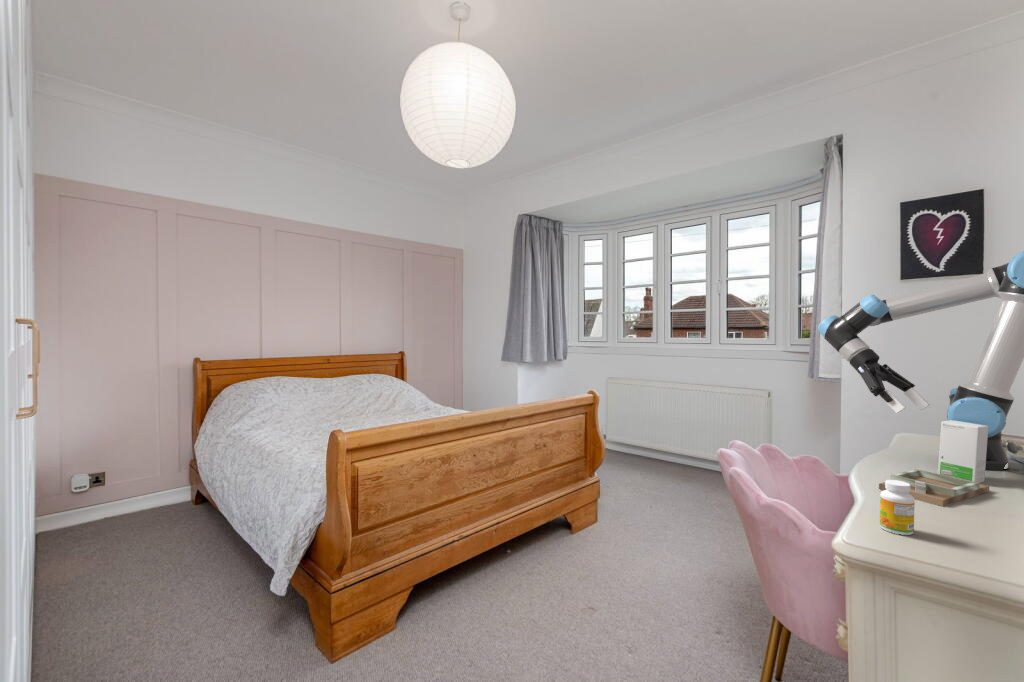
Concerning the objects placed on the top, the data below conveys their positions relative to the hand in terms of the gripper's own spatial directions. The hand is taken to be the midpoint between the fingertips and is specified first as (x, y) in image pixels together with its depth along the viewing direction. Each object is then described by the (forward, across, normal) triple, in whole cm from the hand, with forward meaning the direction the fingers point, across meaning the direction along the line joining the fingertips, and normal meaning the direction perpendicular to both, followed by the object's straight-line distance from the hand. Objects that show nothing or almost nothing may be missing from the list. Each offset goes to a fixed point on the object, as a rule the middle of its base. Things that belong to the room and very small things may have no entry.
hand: (913, 409), depth 141 cm
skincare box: (+21, 0, -5) cm, 21 cm away
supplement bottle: (+28, +56, +3) cm, 63 cm away
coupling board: (+22, +19, -3) cm, 29 cm away
